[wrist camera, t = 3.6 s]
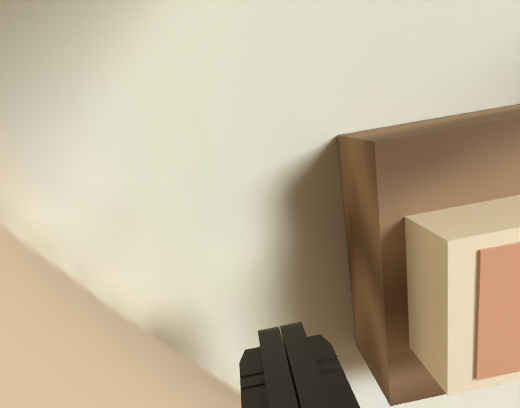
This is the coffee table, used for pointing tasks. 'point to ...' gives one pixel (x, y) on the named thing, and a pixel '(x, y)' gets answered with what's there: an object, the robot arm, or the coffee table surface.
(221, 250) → the coffee table surface
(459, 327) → the cream block pink stripe
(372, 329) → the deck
